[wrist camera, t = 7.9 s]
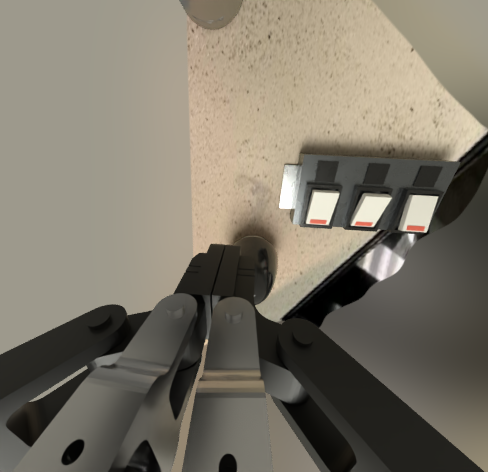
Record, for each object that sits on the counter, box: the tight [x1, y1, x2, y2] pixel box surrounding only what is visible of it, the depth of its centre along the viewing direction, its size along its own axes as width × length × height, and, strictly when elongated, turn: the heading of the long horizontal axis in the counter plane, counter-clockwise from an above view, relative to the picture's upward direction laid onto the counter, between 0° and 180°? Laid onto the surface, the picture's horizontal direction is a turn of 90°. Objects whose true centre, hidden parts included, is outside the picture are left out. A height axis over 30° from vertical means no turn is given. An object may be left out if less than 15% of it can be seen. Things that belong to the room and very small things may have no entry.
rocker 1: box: [305, 190, 340, 225], centre depth 33 cm, size 6×4×1 cm, turn 177°
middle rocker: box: [350, 193, 392, 227], centre depth 32 cm, size 6×4×1 cm, turn 177°
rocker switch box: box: [279, 153, 461, 234], centre depth 34 cm, size 12×29×5 cm, turn 88°
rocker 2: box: [398, 195, 438, 232], centre depth 32 cm, size 6×4×1 cm, turn 178°
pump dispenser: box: [233, 236, 278, 305], centre depth 36 cm, size 10×10×15 cm
